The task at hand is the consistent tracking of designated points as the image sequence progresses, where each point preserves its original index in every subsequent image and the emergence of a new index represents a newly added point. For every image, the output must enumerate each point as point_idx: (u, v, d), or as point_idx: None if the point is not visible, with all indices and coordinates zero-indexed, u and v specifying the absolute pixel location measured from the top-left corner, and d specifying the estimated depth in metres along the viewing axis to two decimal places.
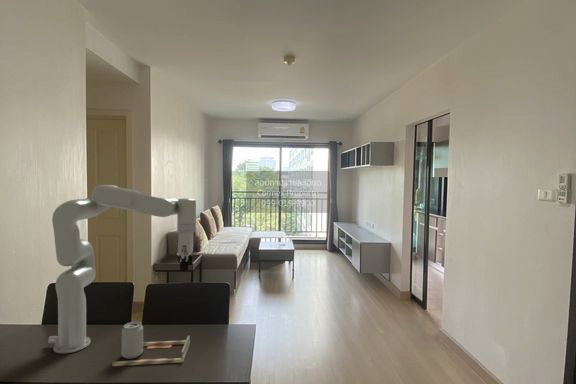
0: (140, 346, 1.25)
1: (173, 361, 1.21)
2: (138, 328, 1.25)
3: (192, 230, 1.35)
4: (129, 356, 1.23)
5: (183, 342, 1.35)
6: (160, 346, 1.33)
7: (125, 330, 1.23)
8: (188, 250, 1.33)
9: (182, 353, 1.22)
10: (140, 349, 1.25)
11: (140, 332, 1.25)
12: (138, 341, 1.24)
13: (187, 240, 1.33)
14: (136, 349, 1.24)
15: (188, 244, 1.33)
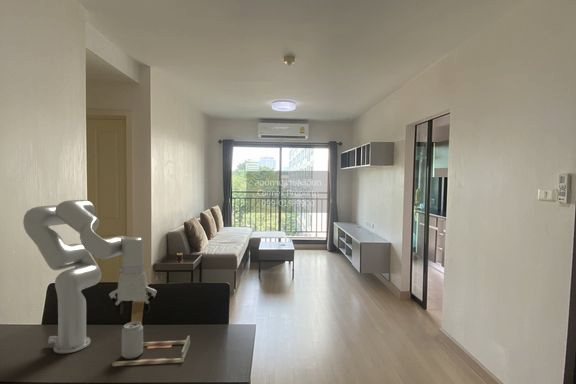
0: (140, 346, 1.25)
1: (173, 361, 1.21)
2: (138, 328, 1.25)
3: None
4: (129, 356, 1.23)
5: (183, 342, 1.35)
6: (160, 346, 1.33)
7: (125, 330, 1.23)
8: None
9: (182, 353, 1.22)
10: (140, 349, 1.25)
11: (140, 332, 1.25)
12: (138, 341, 1.24)
13: (146, 280, 1.27)
14: (136, 349, 1.24)
15: (147, 283, 1.28)
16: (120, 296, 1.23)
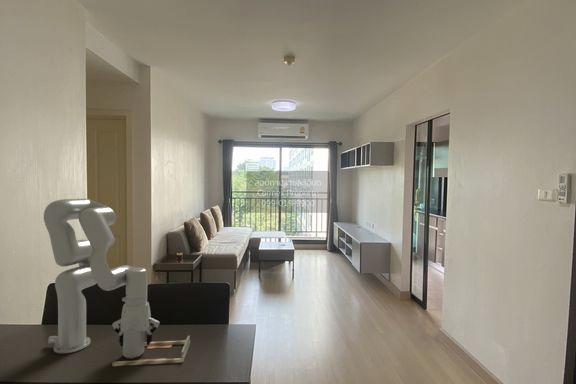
0: (141, 346, 1.25)
1: (173, 361, 1.21)
2: None
3: None
4: (130, 356, 1.23)
5: (183, 342, 1.35)
6: (160, 346, 1.33)
7: (127, 330, 1.23)
8: None
9: (182, 353, 1.22)
10: (141, 349, 1.25)
11: (141, 332, 1.25)
12: (140, 341, 1.24)
13: (149, 310, 1.28)
14: (137, 348, 1.24)
15: (150, 314, 1.28)
16: (123, 327, 1.23)
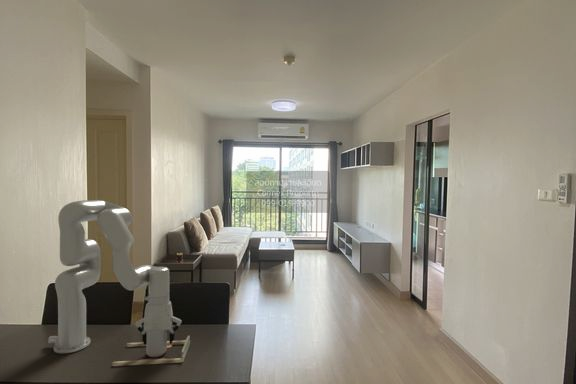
0: (165, 344, 1.27)
1: (173, 361, 1.21)
2: None
3: None
4: (154, 354, 1.24)
5: (183, 342, 1.35)
6: None
7: None
8: None
9: (182, 353, 1.22)
10: (165, 347, 1.27)
11: (165, 330, 1.26)
12: (163, 339, 1.26)
13: None
14: (161, 347, 1.25)
15: (172, 312, 1.29)
16: (146, 326, 1.24)
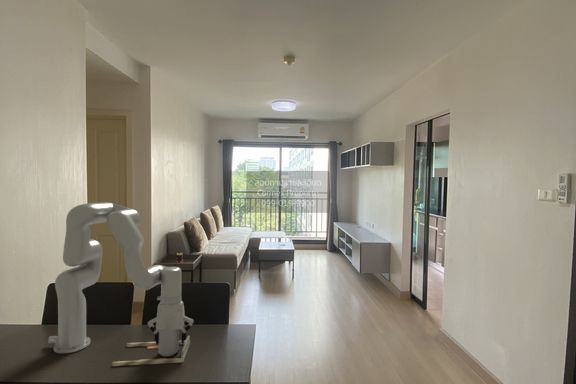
0: (177, 344, 1.27)
1: (173, 361, 1.21)
2: None
3: None
4: (167, 354, 1.24)
5: None
6: None
7: None
8: None
9: (182, 353, 1.22)
10: (177, 347, 1.27)
11: (177, 330, 1.27)
12: (175, 339, 1.26)
13: None
14: (173, 346, 1.26)
15: None
16: (159, 326, 1.25)
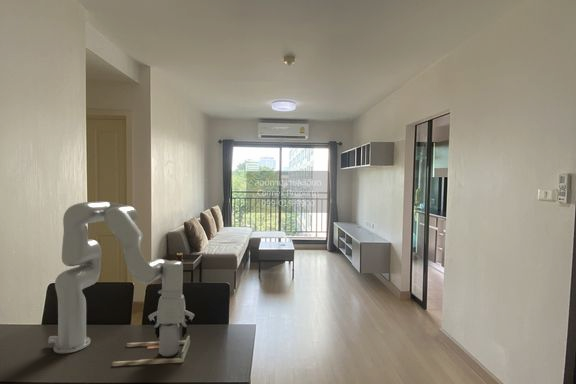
0: (177, 344, 1.27)
1: (173, 361, 1.21)
2: (176, 326, 1.27)
3: None
4: (167, 354, 1.24)
5: (183, 342, 1.35)
6: None
7: (163, 328, 1.25)
8: None
9: (182, 353, 1.22)
10: (177, 347, 1.27)
11: (177, 330, 1.27)
12: (176, 339, 1.26)
13: None
14: (174, 346, 1.26)
15: None
16: (159, 319, 1.25)
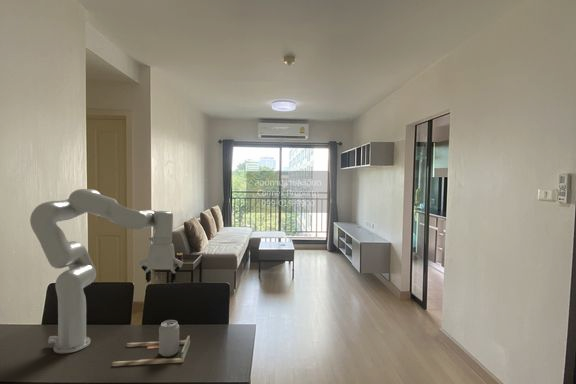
0: (177, 344, 1.27)
1: (173, 361, 1.21)
2: (175, 326, 1.27)
3: None
4: (167, 354, 1.24)
5: (183, 342, 1.35)
6: None
7: (163, 328, 1.25)
8: None
9: (182, 353, 1.22)
10: (177, 347, 1.27)
11: (177, 330, 1.27)
12: (176, 339, 1.26)
13: None
14: (174, 346, 1.26)
15: (174, 255, 1.37)
16: (150, 264, 1.32)
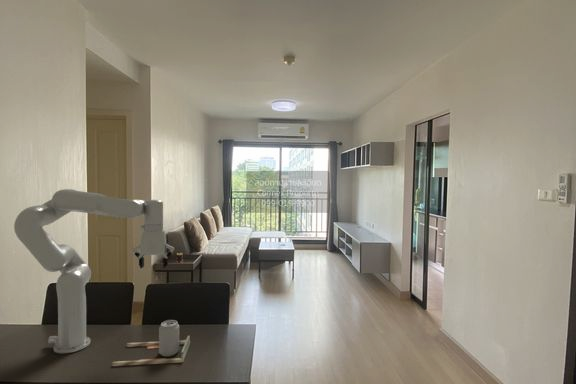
0: (177, 344, 1.27)
1: (173, 361, 1.21)
2: (175, 326, 1.27)
3: None
4: (167, 354, 1.24)
5: (183, 342, 1.35)
6: None
7: (163, 328, 1.25)
8: None
9: (182, 353, 1.22)
10: (177, 347, 1.27)
11: (177, 330, 1.27)
12: (176, 339, 1.26)
13: (165, 238, 1.43)
14: (174, 346, 1.26)
15: None
16: (142, 251, 1.38)
